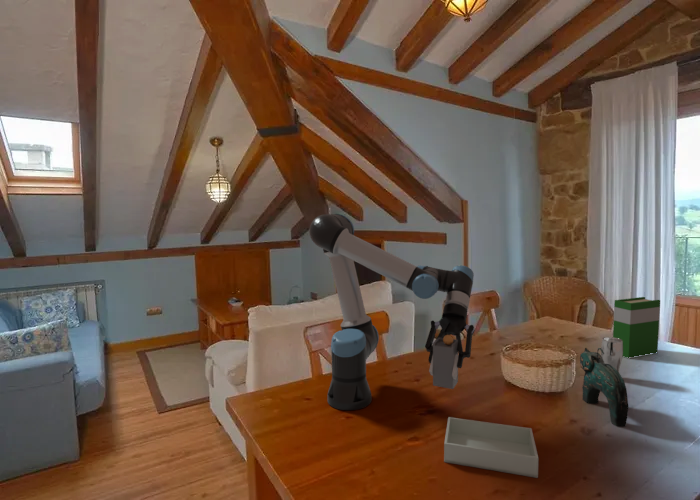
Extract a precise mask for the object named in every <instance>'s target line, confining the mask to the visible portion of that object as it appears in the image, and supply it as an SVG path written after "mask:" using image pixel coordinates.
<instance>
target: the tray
mask: <svg viewBox="0 0 700 500" xmlns="http://www.w3.org/2000/svg"><path fill="white" fill-rule="evenodd" d="M443 442H444V444H443V451H444V452H443V453H444V454H443V463H447V464H453V465H459V466H465V467H471V468H477V469H482V470H483V469H484V470H490V471H495V472H501V473H506V474H513V475H518V476H525V477H529V478H536V479H538V478H539V455H538V451H537V450H538V449H537V446H536V442H535V438H534V434H533V428H531V427H524V426H517V425H511V424H501V423H496V422H495V423H494V422H487V421H479V420H473V419H465V418H458V417H453V416H448V418H447V424H446V430H445V437H444V441H443Z"/></svg>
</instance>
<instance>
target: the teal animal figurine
mask: <svg viewBox="0 0 700 500" xmlns="http://www.w3.org/2000/svg"><path fill="white" fill-rule="evenodd" d="M599 351H600V353H601V352H602V353H603V354H604V352H603V350H602V349H601V347H597V351H596V352H594V351H593V352H592V351H591V350H589V349H588V348H587V347H585V348H584V351H583V352H581V354H580V357H579V365H580V368H581V369H582V370H583V371H584V375H583V381H582V382H583V383H582V401H584V402H585V403H587V404H589V405H590V404H591V405H592V404H593V405H595V404H596V405H598V404H599V396H600V394H601V393H602V394H603V395H604V396H605V398H606V400H607V404H608V409H609V417H610V422H611V424H612V425H613V426H615V427H626V425H627V420H628V413H629V400H628V398H629V397H628V391H627V386H626V384H625V380H624V379H623V376H622V375H621V372H620V371H619V372H620V373H619V372H618V371H617V370H616V369H615V368H614V367H613V366H611V365H610V364H605V363H604V361H603V358H602V356H601V354H600V353H599Z"/></svg>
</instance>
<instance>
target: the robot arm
mask: <svg viewBox="0 0 700 500" xmlns="http://www.w3.org/2000/svg"><path fill="white" fill-rule="evenodd" d="M308 232H309V233H308V234H309V237H310V239H311V241H312V242H313V243H314V244H315V245H316V246H318V247H319V248H321V249H322V251H323V254H324V255H325V256H327V257H328V258H329V263H330V267H331V270H332V271H331V272H332V276H333V280H334V284H335V285H334V286H335V289H336V293H337V297H338V301H339V305H340V310H341V314H342V318H343V320H342V322H341V323H340V328H341V330H338V331H336V332H334V334H333V335H332V336H331V342H330V349H331V381H330V384H329V388H328V391H327V404H328V405H329V406H330V407H332V408H334V409H336V410H341V411H356V410H357V411H358V410H361V409H364V408H366V407H368V406H369V405H370V404H371V403H372V392H371V391H372V390H371V388H370V385H369V382H368V380H367V359H368V358H369V357H370V356H371V354H372V353H374V352H375V350H376V348H377V346H378V344H379V341H380V339H379V331H378V329H377V328H376V326H375V325H373V322H372V317H370V316H369V315H367V313H366V309H365V304H364V300H363V297H362V291H361V288H360V283H359V278H358V274H357V269H356V266H355V262H356V263H358V264H359V265H361V266H363V267H365V268H367V269H369V270H371V271H373V272H375V273H377V274H379V275H382V276H383V277H385V278H387V279H388V280H391V281H393V282H395V283H397V284H399V285H400V286H403V287H404V288H406V289H408V290H410V291H412V292H413V293H414V295H415V296H416V297H418V298H420V299H423V300H427V299H431V297H433V296H435V295H436V294H437V293H438V291H439V292H443V293H446V296H445V301H444V306H443V310H442V314H441V318H440V319H439V321H435V320H431V321H430V330H429V333H428V336H427V339H426V342H425V346H424V347H425V351H426V352H428V353H429V355H428V363H429V364H430V365H429V370H428V372H429V374H430V376H433V343H434V342H435V341H436V339H437V338H438V337H439V338H444V336H445V335H451V336H455V340H458V346H457V347H458V355H456V356H455V361H454V366H453V372H452V377H453V379H456V377H457V371H458V372H459V369H462V367H463V363H464V359H465V358H468V359H469V358H471V354H472V344H473V343H472V341H473V335H474V332H475V330H476V329H475V326H474V325H473V324H467V316H468V310H469V306H470V301H471V300H470V299H471V294H472V290H473V284H474V275H475V274H474V271H473V270H472V268H470V267H468V266H467V265H463V264H461V265H455V266H453V268H452V270H449V269H448V270H447V269H442V268H437V267H431V266H428V265H418V266H416V265H414V264H413V263H411V262H409V261H406V260H404V259H403V258H400V257H399V256H396V255H394V254H392V253H390V252H388V251H386V250H384V249H382V248H380V247H378V246H376V245H374V244H373V243H370V242H368V241H366V240H364V239H362V238H360V237H357V236H356V235H355V227H354V224H353V221H351V220H350V218H348V217H347V216H346V215H343V214H339V213H332V214H331V213H328V214H327V213H326V214H321V215H317V216H316V217H315V218H314V219H313V220H312V221H311V223H310V225H309V231H308ZM439 327H440V328H441V329H440V331H439V334H438V335H437V337H436V334H437V329H438V328H439ZM463 331H466V340H465V349H463V344H462V336H461V333H462V332H463ZM435 337H436V339H435Z"/></svg>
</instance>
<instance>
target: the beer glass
mask: <svg viewBox="0 0 700 500" xmlns="http://www.w3.org/2000/svg"><path fill="white" fill-rule="evenodd" d="M600 348H601V349H602V350H603V352H604V354H603V353H602V352H601V351H600V353H601V354H600V355H601V357H602V358H603V361H604V363H605V364H610V365H611V366H613V367H614V368H615V369H616V370H617V371H618V372H619V373H620V374H621V372H620V370H621V369H620V368H621V364H622V360H623V358H624V357H623V340H621V339H619V338H614V337H613V336H603V337H602V339H601V346H600Z"/></svg>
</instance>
